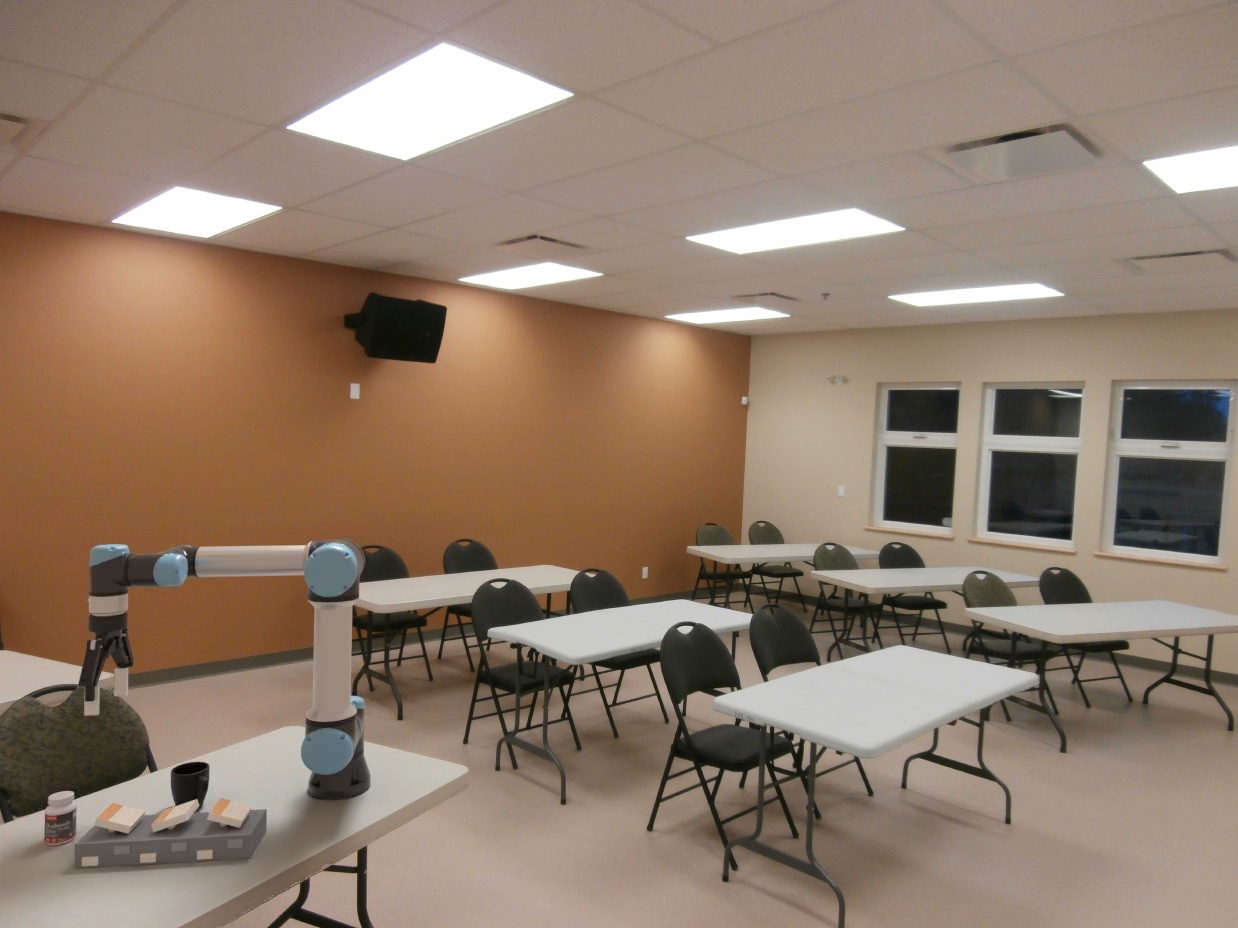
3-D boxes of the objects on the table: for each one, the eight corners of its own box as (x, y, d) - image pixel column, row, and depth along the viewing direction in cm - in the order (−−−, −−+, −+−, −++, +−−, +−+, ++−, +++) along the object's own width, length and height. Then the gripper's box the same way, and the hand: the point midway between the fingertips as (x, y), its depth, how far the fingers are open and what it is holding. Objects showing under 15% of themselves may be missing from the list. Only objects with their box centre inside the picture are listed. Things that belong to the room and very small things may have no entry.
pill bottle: (41, 848, 168) (42, 802, 168) (46, 836, 173) (47, 792, 173) (74, 842, 171) (74, 797, 171) (78, 831, 176) (78, 787, 176)
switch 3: (248, 816, 175) (252, 805, 175) (238, 831, 168) (242, 819, 168) (216, 807, 174) (220, 797, 174) (205, 822, 167) (209, 811, 167)
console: (266, 830, 178) (266, 806, 178) (250, 858, 166) (250, 832, 166) (102, 839, 172) (103, 814, 172) (73, 869, 160) (74, 842, 160)
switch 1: (141, 821, 171) (145, 810, 171) (127, 837, 164) (131, 825, 165) (108, 813, 170) (112, 802, 170) (92, 828, 163) (96, 817, 163)
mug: (185, 823, 181) (186, 782, 180) (164, 807, 188) (164, 768, 188) (222, 811, 187) (222, 771, 187) (200, 796, 195) (200, 758, 194)
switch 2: (200, 808, 173) (196, 798, 173) (188, 823, 166) (184, 812, 166) (168, 820, 172) (164, 809, 172) (154, 835, 165) (150, 824, 165)
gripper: (116, 601, 191) (115, 688, 191) (60, 624, 166) (58, 724, 166) (150, 601, 192) (148, 687, 192) (98, 624, 167) (97, 723, 168)
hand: (106, 704), depth 179 cm, fingers open, 13 cm apart
